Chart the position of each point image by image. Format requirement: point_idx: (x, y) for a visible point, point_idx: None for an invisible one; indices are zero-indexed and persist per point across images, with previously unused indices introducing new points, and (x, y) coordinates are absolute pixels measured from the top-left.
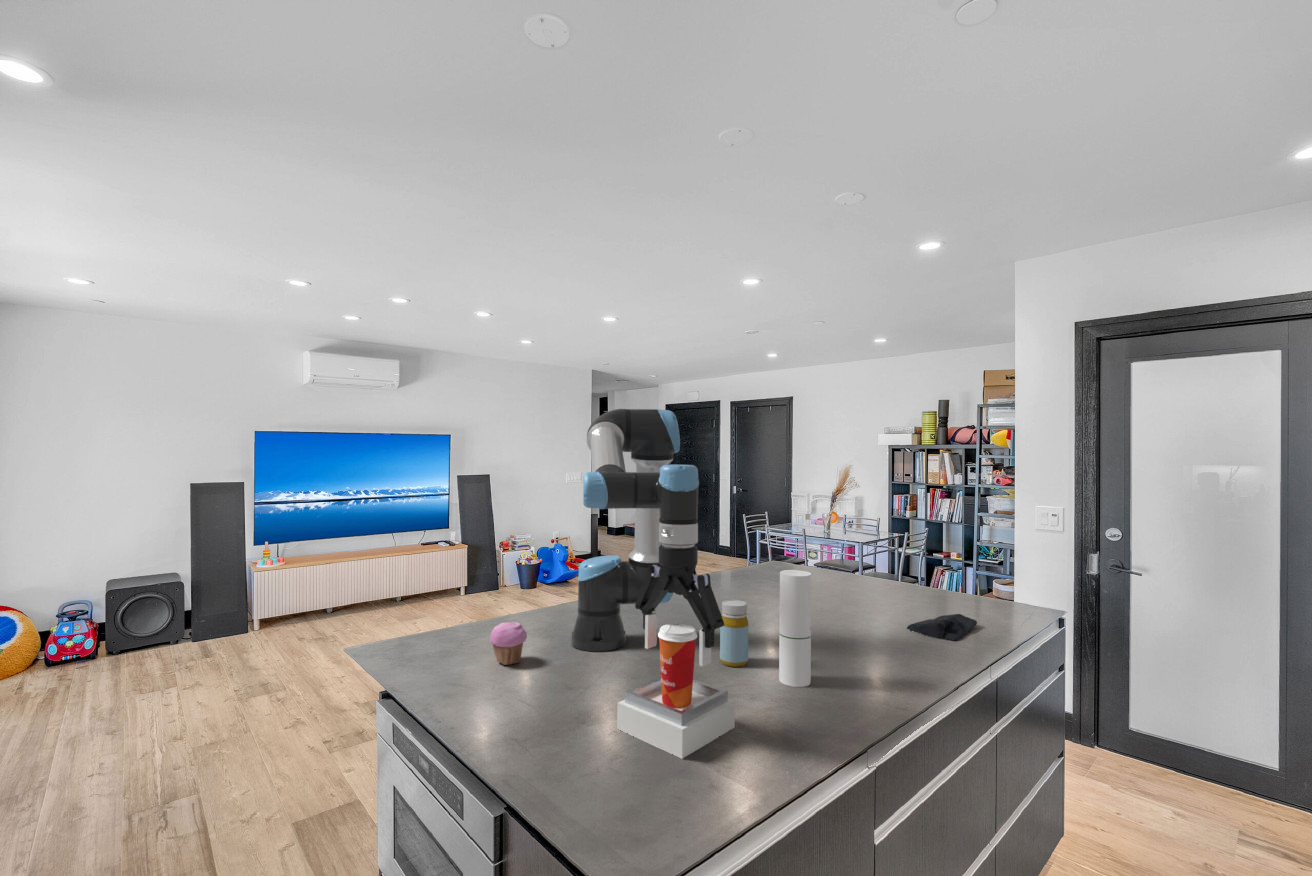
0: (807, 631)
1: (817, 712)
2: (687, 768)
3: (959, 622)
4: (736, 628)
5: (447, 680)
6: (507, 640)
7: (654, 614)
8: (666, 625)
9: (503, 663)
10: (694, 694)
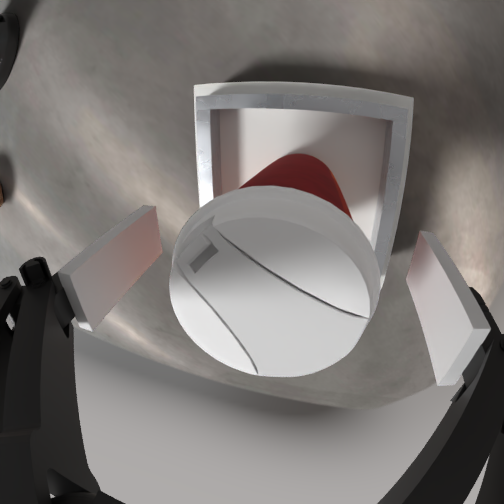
0: None
1: None
2: (393, 276)
3: None
4: None
5: (20, 266)
6: None
7: (77, 290)
8: (181, 299)
9: (1, 205)
10: (306, 121)
